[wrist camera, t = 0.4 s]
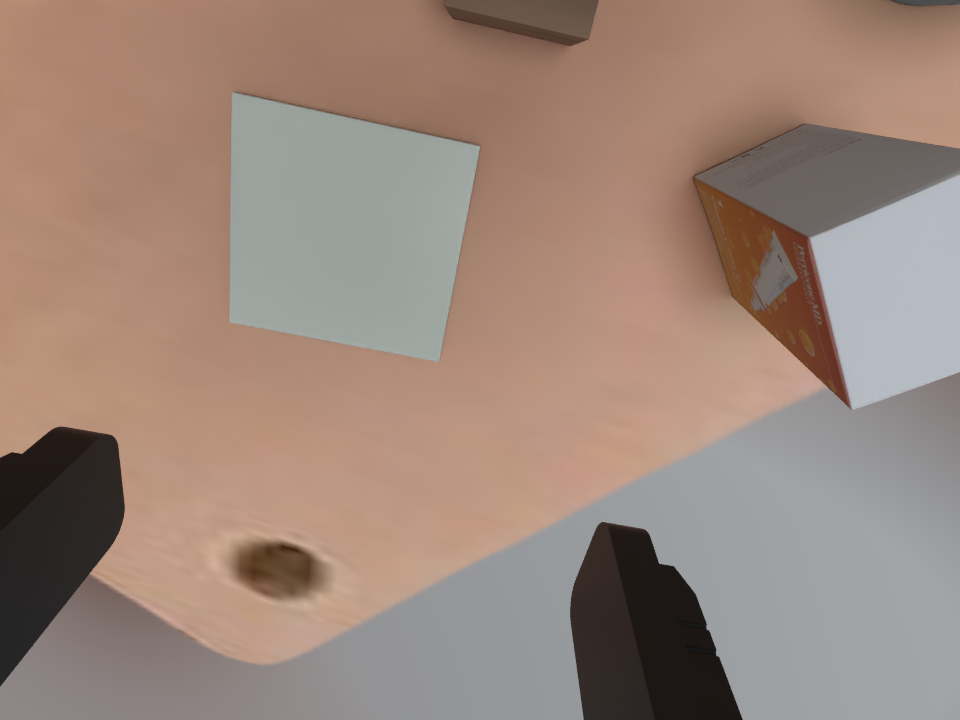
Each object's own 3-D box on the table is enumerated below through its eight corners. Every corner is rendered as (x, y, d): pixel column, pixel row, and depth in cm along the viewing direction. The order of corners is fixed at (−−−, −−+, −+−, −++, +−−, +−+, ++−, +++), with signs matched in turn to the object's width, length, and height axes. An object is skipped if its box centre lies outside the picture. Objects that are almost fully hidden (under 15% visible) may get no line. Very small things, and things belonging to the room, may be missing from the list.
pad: (236, 92, 30) (231, 92, 30) (480, 145, 31) (480, 146, 30) (233, 318, 36) (229, 322, 35) (439, 357, 37) (439, 361, 36)
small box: (689, 176, 32) (805, 234, 20) (807, 120, 30) (1006, 147, 18) (730, 301, 35) (852, 415, 23) (838, 255, 33) (1026, 352, 22)
